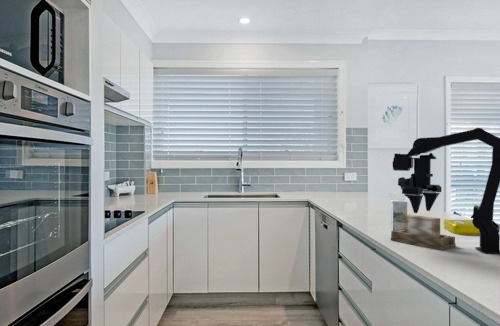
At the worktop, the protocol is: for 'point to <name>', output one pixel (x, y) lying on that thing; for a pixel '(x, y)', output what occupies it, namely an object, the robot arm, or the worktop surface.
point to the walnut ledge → (424, 240)
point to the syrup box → (398, 214)
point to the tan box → (422, 226)
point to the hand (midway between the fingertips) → (422, 211)
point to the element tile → (461, 227)
